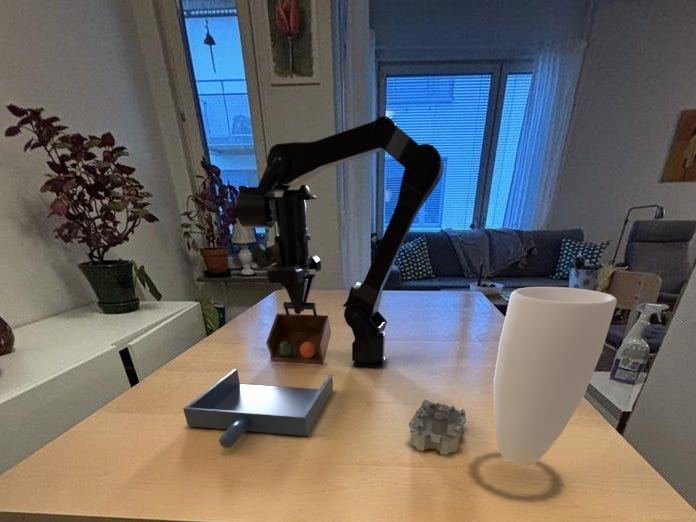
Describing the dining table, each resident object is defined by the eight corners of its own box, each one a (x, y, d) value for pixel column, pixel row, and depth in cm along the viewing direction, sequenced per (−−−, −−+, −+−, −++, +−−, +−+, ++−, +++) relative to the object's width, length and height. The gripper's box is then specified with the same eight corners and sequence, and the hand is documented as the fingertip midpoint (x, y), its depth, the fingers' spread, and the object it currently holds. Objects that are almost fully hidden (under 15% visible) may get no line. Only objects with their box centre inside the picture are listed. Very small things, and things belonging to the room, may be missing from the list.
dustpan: (237, 385, 77) (234, 368, 75) (333, 391, 75) (332, 374, 73) (162, 449, 56) (156, 429, 54) (292, 461, 54) (290, 440, 52)
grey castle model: (455, 458, 55) (459, 432, 52) (403, 448, 57) (405, 423, 54) (467, 426, 63) (471, 402, 60) (421, 418, 65) (423, 395, 63)
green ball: (292, 338, 86) (289, 351, 85) (296, 346, 89) (294, 360, 88) (277, 337, 86) (274, 351, 86) (282, 346, 90) (279, 359, 89)
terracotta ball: (314, 339, 85) (312, 353, 85) (317, 347, 89) (315, 361, 88) (299, 338, 86) (297, 352, 85) (303, 347, 89) (300, 360, 88)
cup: (466, 453, 56) (496, 285, 43) (540, 455, 55) (592, 286, 43) (482, 498, 47) (526, 303, 35) (570, 500, 47) (646, 305, 34)
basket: (331, 332, 92) (326, 301, 85) (323, 364, 87) (316, 335, 80) (282, 329, 94) (273, 299, 87) (271, 361, 89) (260, 332, 82)
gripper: (270, 225, 86) (278, 302, 95) (233, 231, 71) (248, 321, 80) (319, 225, 85) (323, 303, 94) (292, 232, 70) (300, 324, 79)
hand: (299, 312), depth 87 cm, fingers closed
